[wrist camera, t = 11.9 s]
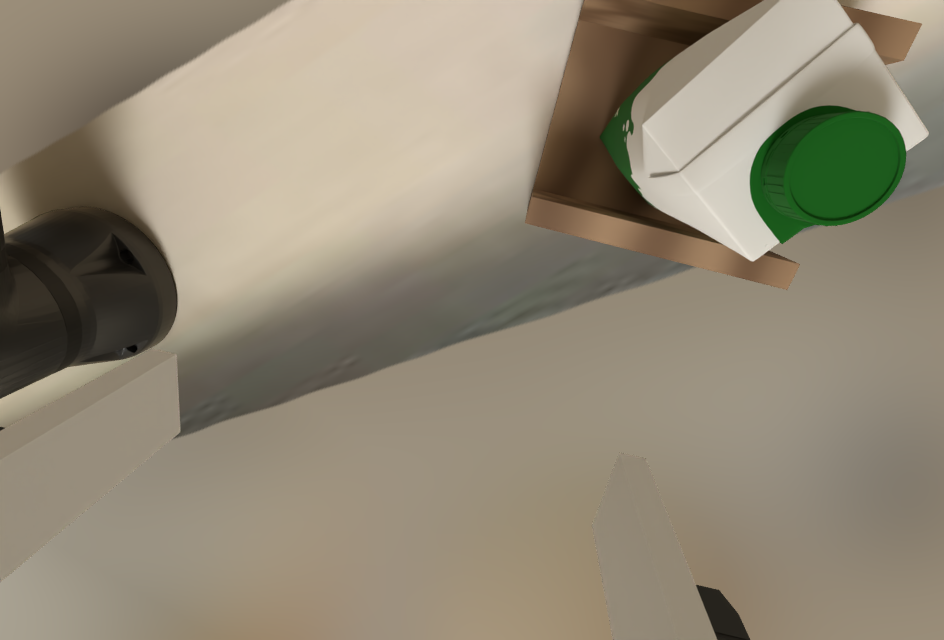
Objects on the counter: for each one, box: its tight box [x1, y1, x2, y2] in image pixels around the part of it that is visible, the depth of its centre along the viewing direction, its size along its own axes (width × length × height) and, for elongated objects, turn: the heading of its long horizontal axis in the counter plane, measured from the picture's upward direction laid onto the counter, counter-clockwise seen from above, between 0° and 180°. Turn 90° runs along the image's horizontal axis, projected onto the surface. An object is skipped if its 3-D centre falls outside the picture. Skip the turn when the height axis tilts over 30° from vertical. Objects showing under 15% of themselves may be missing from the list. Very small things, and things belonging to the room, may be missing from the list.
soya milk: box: [600, 0, 929, 261], centre depth 26 cm, size 9×9×20 cm
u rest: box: [525, 0, 922, 290], centre depth 32 cm, size 18×16×8 cm
